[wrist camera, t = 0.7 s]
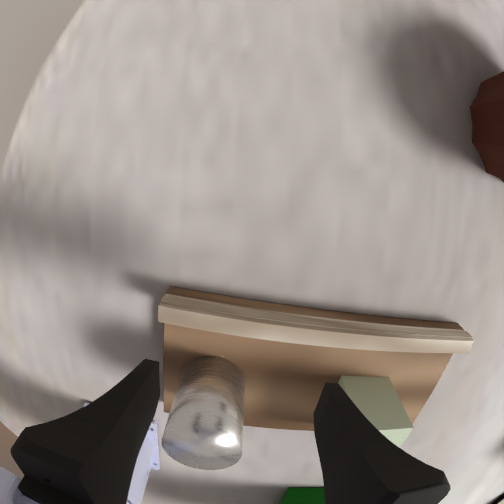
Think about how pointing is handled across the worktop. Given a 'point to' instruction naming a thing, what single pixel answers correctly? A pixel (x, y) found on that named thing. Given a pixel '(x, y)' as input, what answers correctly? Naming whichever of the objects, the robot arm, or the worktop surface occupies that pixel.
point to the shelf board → (302, 352)
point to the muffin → (490, 124)
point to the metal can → (207, 415)
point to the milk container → (500, 501)
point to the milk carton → (304, 496)
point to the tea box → (379, 405)
